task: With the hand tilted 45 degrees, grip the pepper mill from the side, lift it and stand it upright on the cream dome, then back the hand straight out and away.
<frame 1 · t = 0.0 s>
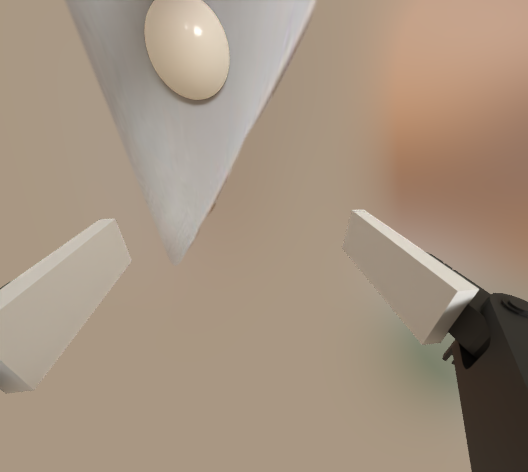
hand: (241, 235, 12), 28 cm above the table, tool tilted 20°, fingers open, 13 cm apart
cream dome: (190, 52, 26), on the table
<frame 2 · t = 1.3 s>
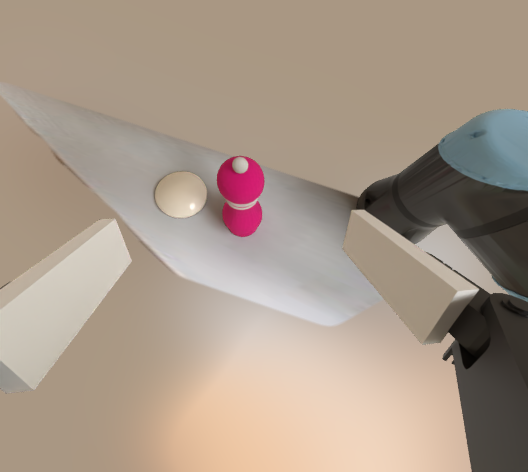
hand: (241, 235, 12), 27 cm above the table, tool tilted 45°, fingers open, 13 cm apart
cream dome: (182, 195, 41), on the table
pepper mill: (242, 222, 41), on the table
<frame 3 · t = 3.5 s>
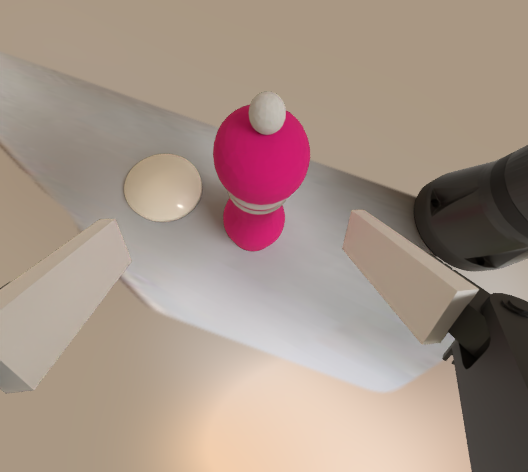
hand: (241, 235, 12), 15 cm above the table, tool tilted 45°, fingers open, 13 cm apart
cream dome: (166, 188, 28), on the table
pepper mill: (252, 229, 28), on the table
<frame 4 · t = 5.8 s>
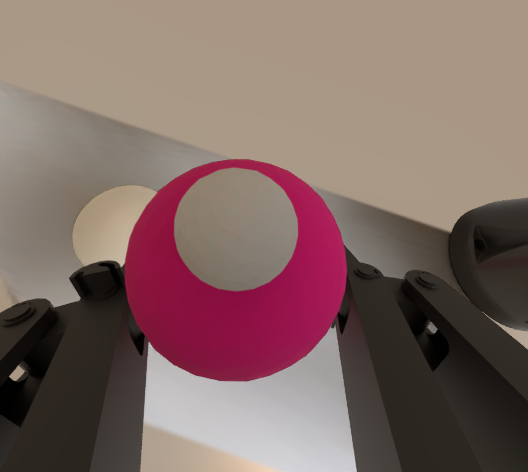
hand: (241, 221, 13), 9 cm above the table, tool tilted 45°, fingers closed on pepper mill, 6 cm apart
cream dome: (130, 231, 22), on the table
pepper mill: (244, 283, 22), on the table, touching gripper
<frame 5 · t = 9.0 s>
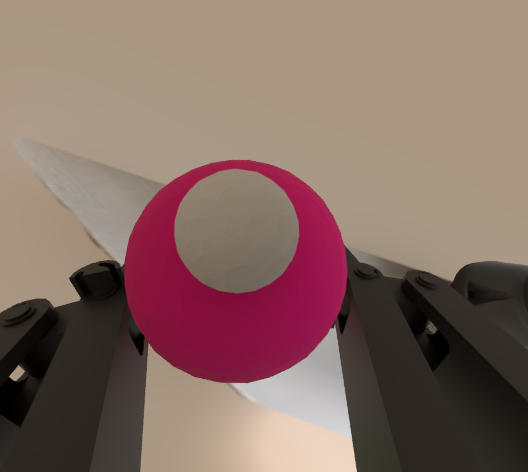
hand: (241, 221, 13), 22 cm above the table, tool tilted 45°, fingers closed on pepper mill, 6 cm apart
pepper mill: (244, 283, 22), point 12 cm above the table, touching gripper
when the fingers open (10 cm above the table, at t = 12.3 s): pepper mill stays where it is, resting on cream dome.
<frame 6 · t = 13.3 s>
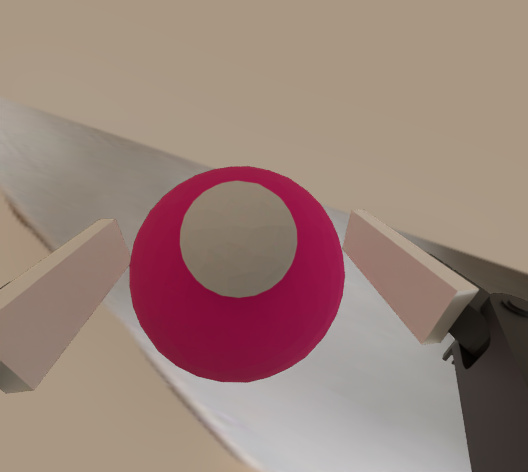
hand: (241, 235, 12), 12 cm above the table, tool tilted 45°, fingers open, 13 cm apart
pepper mill: (244, 284, 22), point 1 cm above the table, touching cream dome
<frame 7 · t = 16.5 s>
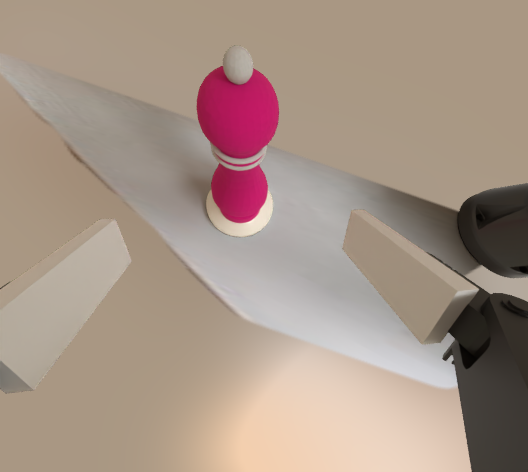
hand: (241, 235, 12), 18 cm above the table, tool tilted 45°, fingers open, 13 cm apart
cream dome: (240, 206, 31), on the table
pepper mill: (240, 204, 30), point 1 cm above the table, touching cream dome
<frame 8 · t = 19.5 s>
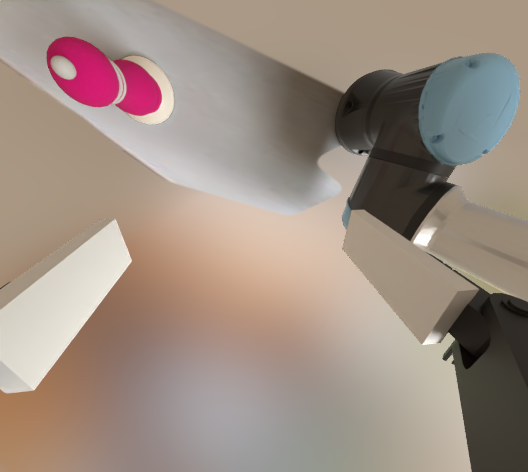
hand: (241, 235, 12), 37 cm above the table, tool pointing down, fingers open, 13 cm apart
cream dome: (145, 93, 37), on the table
pepper mill: (144, 93, 36), point 1 cm above the table, touching cream dome
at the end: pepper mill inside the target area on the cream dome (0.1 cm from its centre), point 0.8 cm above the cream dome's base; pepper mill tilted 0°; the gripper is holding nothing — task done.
